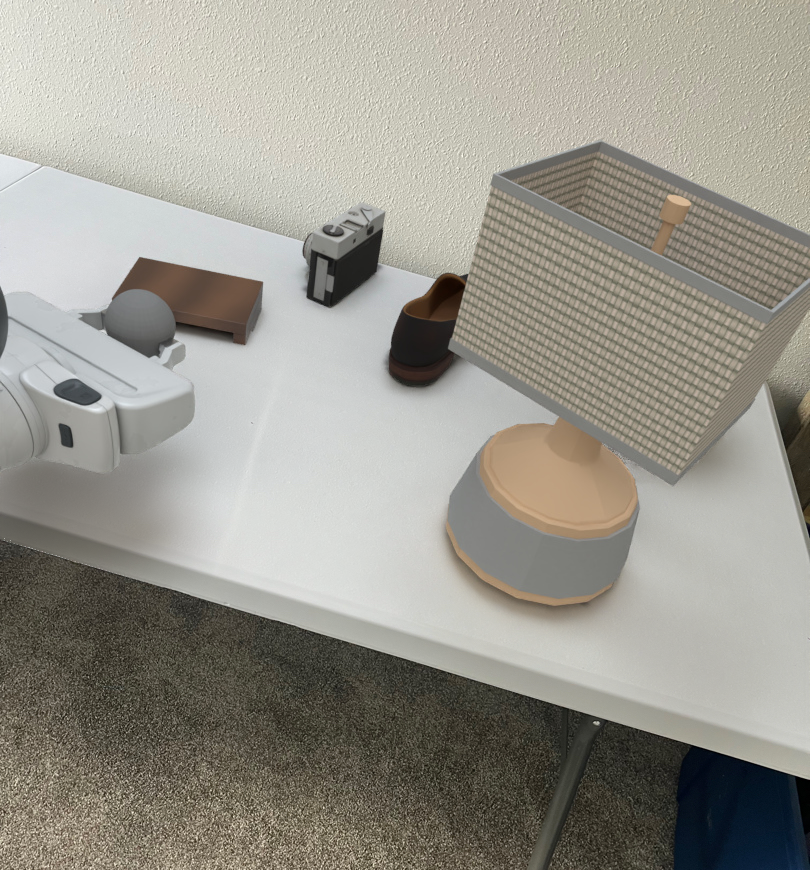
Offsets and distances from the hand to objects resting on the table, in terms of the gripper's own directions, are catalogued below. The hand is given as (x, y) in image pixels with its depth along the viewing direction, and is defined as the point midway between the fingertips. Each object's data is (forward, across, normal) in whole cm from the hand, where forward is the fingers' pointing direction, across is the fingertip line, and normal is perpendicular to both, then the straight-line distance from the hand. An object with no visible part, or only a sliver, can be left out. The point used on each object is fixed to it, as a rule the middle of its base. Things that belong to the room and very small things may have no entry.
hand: (148, 330), depth 71 cm
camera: (+45, -8, -15) cm, 48 cm away
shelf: (+23, -15, -15) cm, 31 cm away
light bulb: (-1, 0, -6) cm, 6 cm away
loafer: (+43, +12, -15) cm, 47 cm away
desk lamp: (+15, +37, -15) cm, 43 cm away
